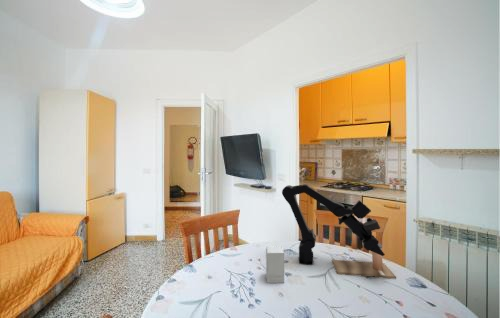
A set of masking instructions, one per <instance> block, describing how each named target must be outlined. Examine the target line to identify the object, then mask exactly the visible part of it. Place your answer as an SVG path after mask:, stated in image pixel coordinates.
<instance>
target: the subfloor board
mask: <svg viewBox="0 0 500 318" xmlns="http://www.w3.org/2000/svg"><path fill="white" fill-rule="evenodd" d="M331 263H332V265H334V266H333V268H334V271H335V270H336V271H335V273H336V275H342V274H345V275H344V276H354V275H361V276H360V277H367V276H375V277H374V278H379V277H385V278H384V279H391V278H396V279H397V275H395V273H394V272H393V271H392V270H391V269H390V268H389V267H388V266H387V264H385V263H384V262H383V270H381V271H379V270H375V269H373V262H370V261H357V260H345V259H344V260H341V259H331Z"/></svg>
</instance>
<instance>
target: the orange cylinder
mask: <svg viewBox="0 0 500 318" xmlns="http://www.w3.org/2000/svg"><path fill="white" fill-rule="evenodd" d="M378 246H379V247H380V249H381V250H382V251H383V246H382V243H378ZM371 260H372V262H373V269H375V270H379V271H381V270H383V263H384V262H383V256H381V255H379V254H377V253H374V252H372V251H371Z"/></svg>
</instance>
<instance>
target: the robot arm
mask: <svg viewBox="0 0 500 318" xmlns="http://www.w3.org/2000/svg"><path fill="white" fill-rule="evenodd" d="M281 193H282V196H283V198H284V199H285V201H286V203H287V204H289V207H290V209H291V211H292V213H293V216H294V218H295V221H296V223H297V226H298V227H299V230H300V234H301V239H302V240H300V242H299V245H298V263H299V265H300V264H301V265H313V264H314V252H313V249H314V247H315V246H316V240H317V235H316V234H315V232H314V229H313V228H311V229H310V228H309V226H308V224H307V221H306V219H305V217H304V214H303V212H302V210H301V208H300V204H299V203H298V198H297V195H300V194H306V195H307V196H309V197H310V198H312V199H313V200H315V201H317V202H318V203H320V204H321V205H322V206H324V207H326V208H327V210H328V211H330V212H331V213H332V214H333V215H334V216H335V217H337V219H338V225H339V226H340V225H342V224H344V225H345V226H346V227H347V228H348V229H349V230H350V231H351V233H352V234H354V235H355V236H356V237H358V239H359V241H361V243H362V246H363V248H364V249H365V250H366V251H370V252H371V253H372V252H374V253H377V254H379V255H381V256H382V257H384V256H385V253H384V251H383V249H382V250H381V249H380V247H379V246H378V243H379V240H378V238H377V237H375V235H373V231H376V230H380V229H381V226H380V225H379V224H380V223H378V221H377V219H375V218H373V219H372V218H371V217H367V218H366V221H365V222H364V223H363V222H362V221H360V219H362V220H363V219H364V218H365V217H366V216H368V215H369V214H370V213H371V212H372V210H371V209H370V208H369V207H368V206H367V205H366V204H365V203H364V202H362V201H361V200H358V201H356V203H355V204H353V205H352V206H350V205H349V206H348V205H344V204H343V203H341V202H338V201H337V200H334V199H330V198H329V197H327V196H325V195H324V194H323V193H320V192H319V191H317V190H316V189H314V188H312V187H311V186H310V185H308V184H307V183H303V184H298V185H293V186H292V185H286V186H285V187H283V189H282V190H281ZM379 244H380V243H379Z"/></svg>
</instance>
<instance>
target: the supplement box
mask: <svg viewBox="0 0 500 318" xmlns="http://www.w3.org/2000/svg"><path fill="white" fill-rule="evenodd" d="M265 249H266V250H265V258H266V259H265V262H266V263H265V266H266V271H265V275H266V282H267V283H268V284H269V283H270V284H272V283H273V284H285V250H284V249H283V246H280V245H279V246H277V245H276V246H275V245H274V246H273V245H272V246H270V245H269V246H265Z"/></svg>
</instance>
